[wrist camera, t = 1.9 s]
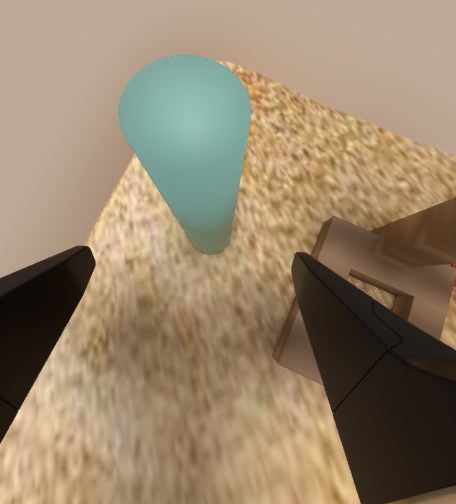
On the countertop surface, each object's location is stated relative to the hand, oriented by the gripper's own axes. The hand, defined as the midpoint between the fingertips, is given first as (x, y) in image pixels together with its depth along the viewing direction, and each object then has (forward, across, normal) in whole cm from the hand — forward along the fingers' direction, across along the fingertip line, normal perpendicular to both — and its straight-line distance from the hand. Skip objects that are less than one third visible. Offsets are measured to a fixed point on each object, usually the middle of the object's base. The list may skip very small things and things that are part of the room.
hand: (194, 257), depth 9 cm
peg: (+11, 0, +5) cm, 12 cm away
